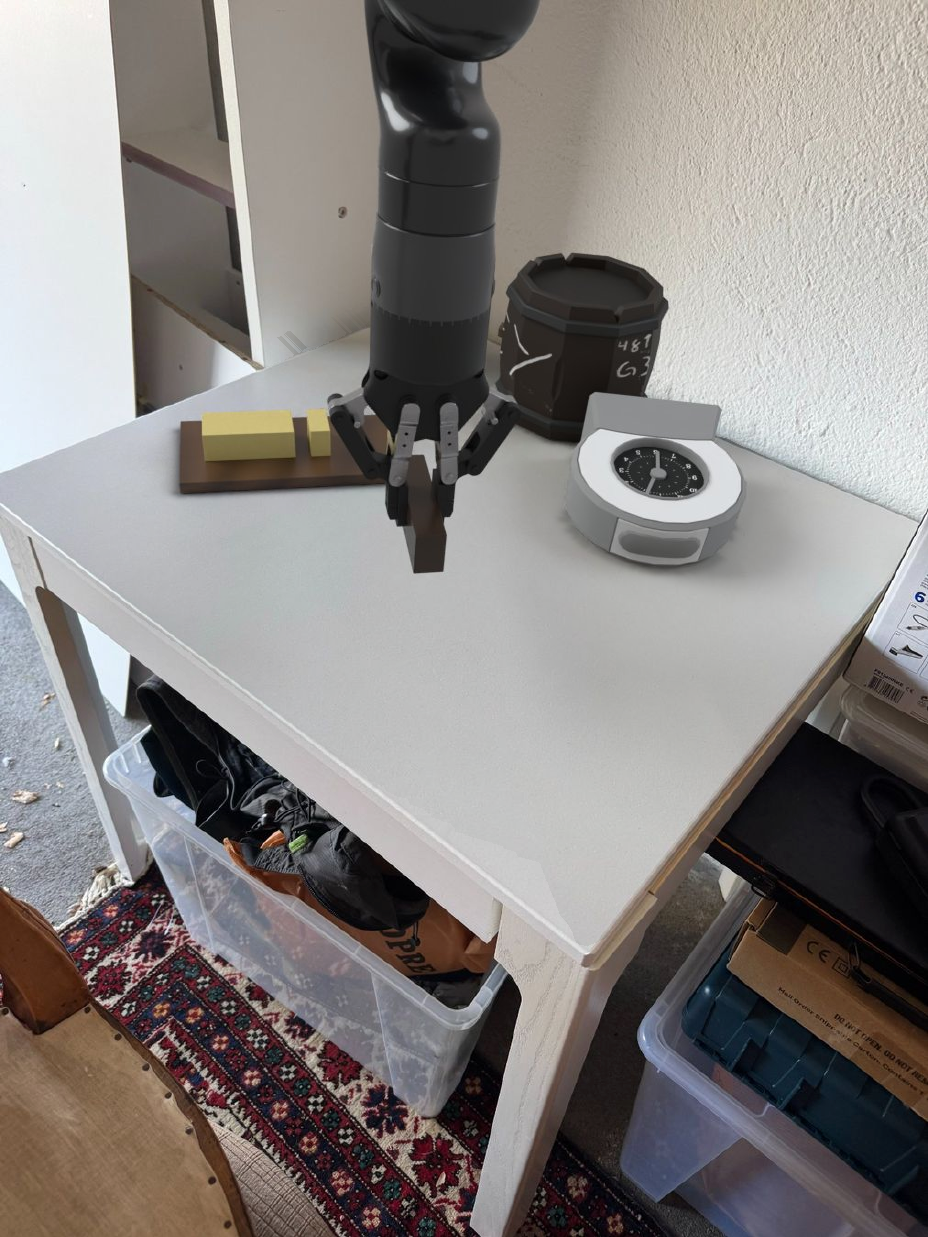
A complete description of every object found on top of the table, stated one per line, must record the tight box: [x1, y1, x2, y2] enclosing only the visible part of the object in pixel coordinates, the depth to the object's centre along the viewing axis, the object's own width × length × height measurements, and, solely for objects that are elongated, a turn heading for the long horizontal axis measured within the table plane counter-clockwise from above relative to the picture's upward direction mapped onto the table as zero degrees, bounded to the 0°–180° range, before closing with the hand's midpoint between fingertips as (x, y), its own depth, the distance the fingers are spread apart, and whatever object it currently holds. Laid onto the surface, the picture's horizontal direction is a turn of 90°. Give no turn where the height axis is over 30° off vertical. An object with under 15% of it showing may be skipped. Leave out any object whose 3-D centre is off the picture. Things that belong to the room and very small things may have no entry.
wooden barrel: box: [495, 252, 670, 444], centre depth 105 cm, size 18×18×16 cm
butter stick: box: [201, 409, 295, 461], centre depth 95 cm, size 9×4×3 cm, turn 102°
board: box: [178, 414, 388, 494], centre depth 97 cm, size 22×12×1 cm, turn 102°
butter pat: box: [306, 408, 331, 457], centre depth 96 cm, size 2×4×3 cm, turn 12°
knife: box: [402, 454, 448, 575], centre depth 72 cm, size 22×2×3 cm, turn 11°
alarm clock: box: [564, 392, 747, 567], centre depth 92 cm, size 17×9×19 cm
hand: (418, 518), depth 69 cm, fingers closed on knife, 2 cm apart
